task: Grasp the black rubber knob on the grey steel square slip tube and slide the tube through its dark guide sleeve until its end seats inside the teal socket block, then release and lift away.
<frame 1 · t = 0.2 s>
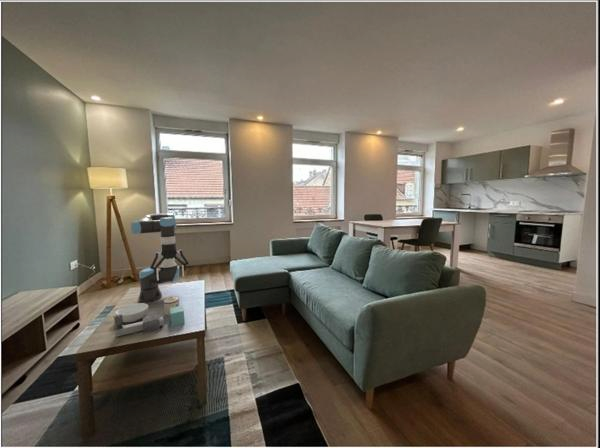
hand: (170, 277, 145), 28 cm above the table, fingers open, 13 cm apart
socket: (177, 321, 148), on the table
sleeve: (151, 328, 141), on the table
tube: (139, 320, 137), point 6 cm above the table, slide at 0.0 cm
cereal bowl: (133, 319, 152), on the table
teacup with lid: (172, 312, 161), on the table
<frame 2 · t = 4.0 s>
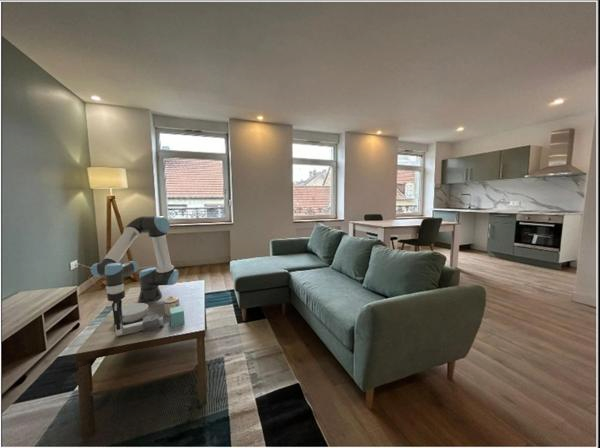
hand: (119, 332, 133), 2 cm above the table, fingers closed on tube, 4 cm apart
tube: (139, 320, 137), point 6 cm above the table, slide at 0.0 cm, touching gripper
everything else where it was.
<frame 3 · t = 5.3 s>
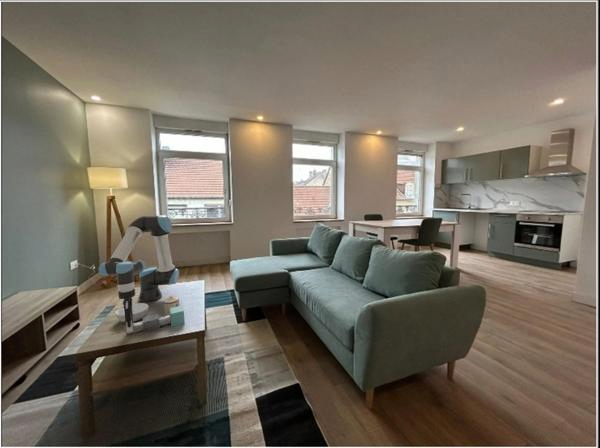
hand: (130, 330, 135), 2 cm above the table, fingers closed on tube, 4 cm apart
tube: (149, 318, 140), point 6 cm above the table, slide at 4.8 cm, touching gripper
everything else where it was.
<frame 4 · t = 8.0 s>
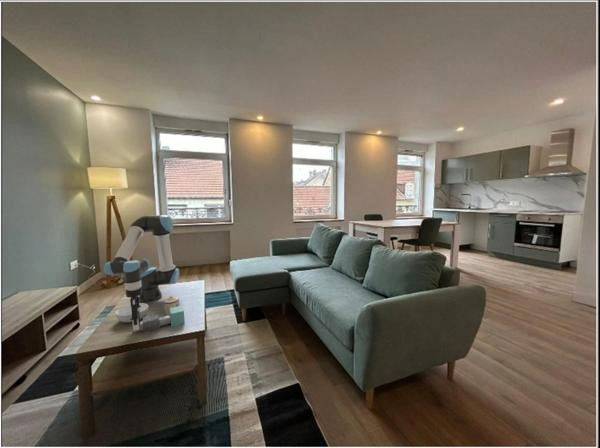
hand: (136, 324, 137), 4 cm above the table, fingers open, 13 cm apart
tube: (156, 316, 141), point 6 cm above the table, slide at 8.0 cm
everything else where it was.
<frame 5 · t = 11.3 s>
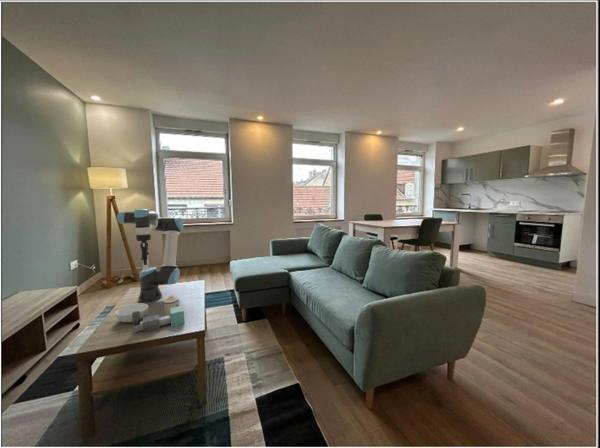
hand: (146, 267, 151), 33 cm above the table, fingers open, 13 cm apart
nothing on the table moved.
at the end: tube slide at 8.0 cm; the gripper is holding nothing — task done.
